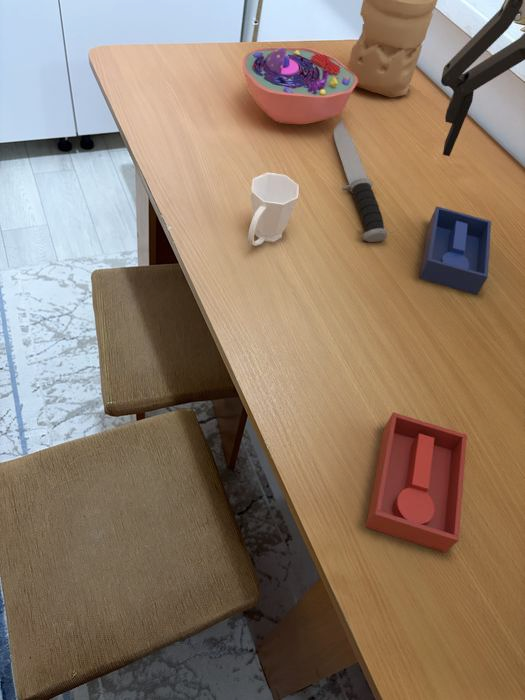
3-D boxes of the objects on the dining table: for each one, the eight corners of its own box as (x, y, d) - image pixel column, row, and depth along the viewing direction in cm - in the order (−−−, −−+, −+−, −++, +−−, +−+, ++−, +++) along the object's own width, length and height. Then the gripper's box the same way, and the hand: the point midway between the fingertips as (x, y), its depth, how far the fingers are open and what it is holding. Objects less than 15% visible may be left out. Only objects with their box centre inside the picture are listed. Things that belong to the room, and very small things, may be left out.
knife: (358, 247, 88) (391, 242, 88) (360, 232, 86) (394, 228, 86) (319, 129, 105) (346, 126, 105) (319, 114, 102) (347, 111, 102)
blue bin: (477, 294, 84) (487, 277, 81) (419, 278, 84) (427, 260, 82) (481, 239, 91) (491, 221, 88) (428, 224, 92) (436, 206, 89)
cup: (299, 227, 88) (308, 183, 82) (269, 267, 82) (277, 223, 76) (258, 210, 89) (264, 165, 83) (226, 248, 84) (230, 203, 77)
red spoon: (402, 440, 67) (409, 430, 65) (436, 451, 67) (444, 440, 65) (389, 523, 61) (397, 514, 59) (427, 534, 61) (435, 526, 59)
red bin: (445, 552, 61) (458, 540, 58) (365, 527, 61) (375, 514, 58) (454, 449, 68) (467, 434, 65) (383, 428, 69) (392, 412, 66)
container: (377, 64, 121) (404, -33, 107) (419, 94, 116) (453, -4, 101) (331, 77, 116) (353, -23, 101) (373, 109, 110) (402, 8, 96)
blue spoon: (442, 231, 91) (449, 218, 89) (468, 238, 90) (475, 225, 88) (436, 275, 84) (443, 263, 82) (463, 283, 84) (470, 270, 82)
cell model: (343, 152, 101) (359, 90, 92) (229, 130, 101) (234, 66, 92) (350, 100, 111) (364, 40, 102) (246, 81, 111) (252, 18, 102)
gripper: (765, -37, 49) (617, 175, 66) (473, -102, 51) (402, 119, 68) (789, -4, 45) (624, 215, 61) (468, -76, 47) (392, 154, 64)
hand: (507, 165), depth 65 cm, fingers open, 13 cm apart
